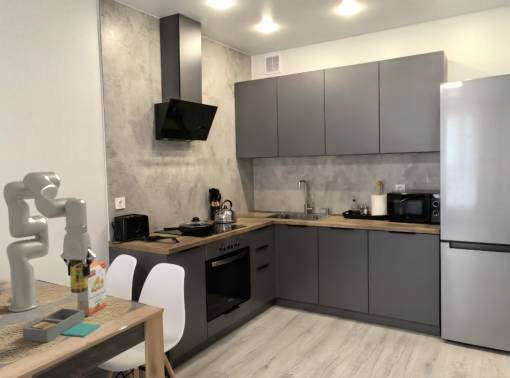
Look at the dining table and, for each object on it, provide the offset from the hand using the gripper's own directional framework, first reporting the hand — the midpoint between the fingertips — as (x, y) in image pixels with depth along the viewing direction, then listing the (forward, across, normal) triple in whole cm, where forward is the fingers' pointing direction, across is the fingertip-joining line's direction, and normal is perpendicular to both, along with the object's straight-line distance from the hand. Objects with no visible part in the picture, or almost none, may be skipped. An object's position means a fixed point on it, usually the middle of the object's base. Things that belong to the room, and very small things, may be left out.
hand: (79, 274), depth 155 cm
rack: (+23, -11, -2) cm, 25 cm away
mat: (+23, 0, 0) cm, 23 cm away
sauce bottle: (+7, 0, 0) cm, 7 cm away
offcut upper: (+21, -11, -7) cm, 25 cm away
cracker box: (+23, -10, +20) cm, 32 cm away
